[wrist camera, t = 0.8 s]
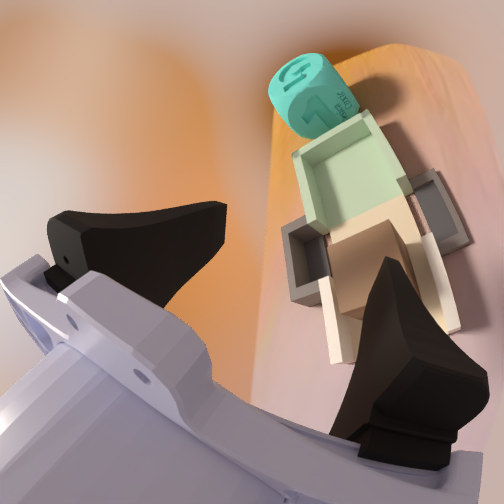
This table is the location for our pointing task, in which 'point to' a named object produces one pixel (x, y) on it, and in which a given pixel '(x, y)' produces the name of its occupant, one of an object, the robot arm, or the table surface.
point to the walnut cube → (365, 265)
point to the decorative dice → (311, 96)
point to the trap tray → (366, 224)
